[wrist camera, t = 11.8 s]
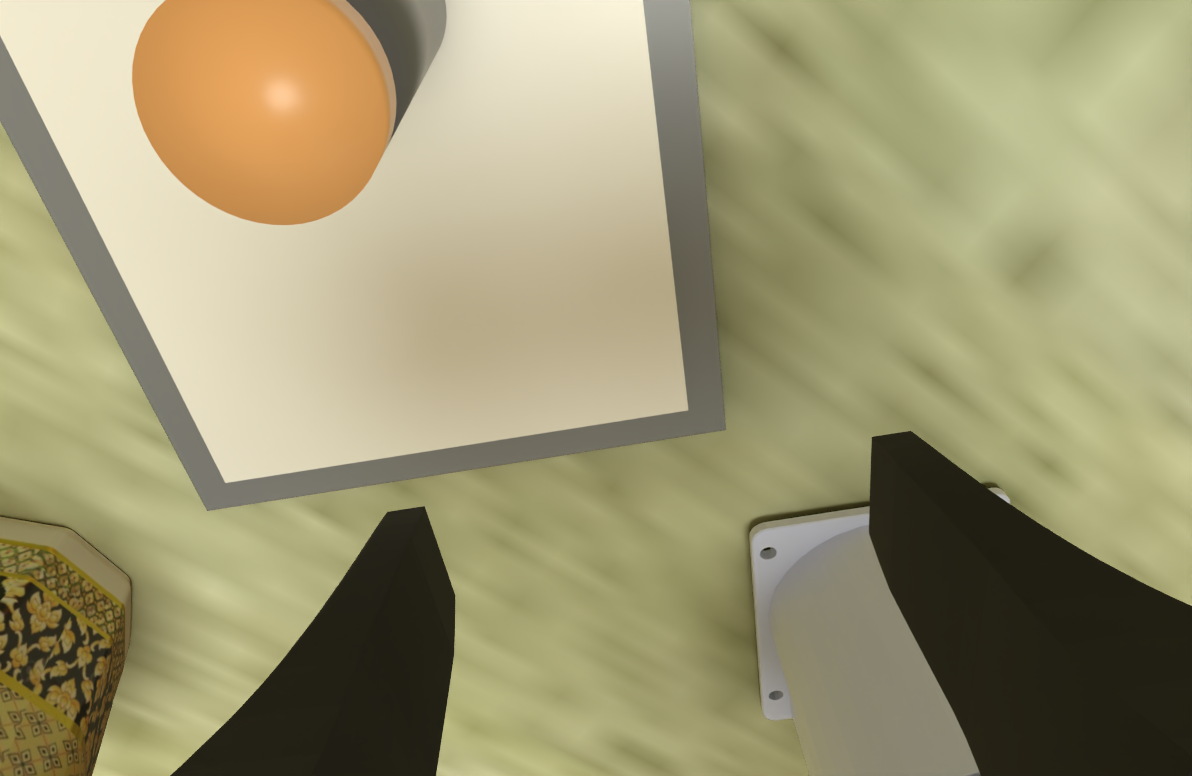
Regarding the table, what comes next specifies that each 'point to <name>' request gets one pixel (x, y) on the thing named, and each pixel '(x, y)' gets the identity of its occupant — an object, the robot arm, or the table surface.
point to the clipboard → (402, 254)
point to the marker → (280, 96)
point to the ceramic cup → (57, 648)
